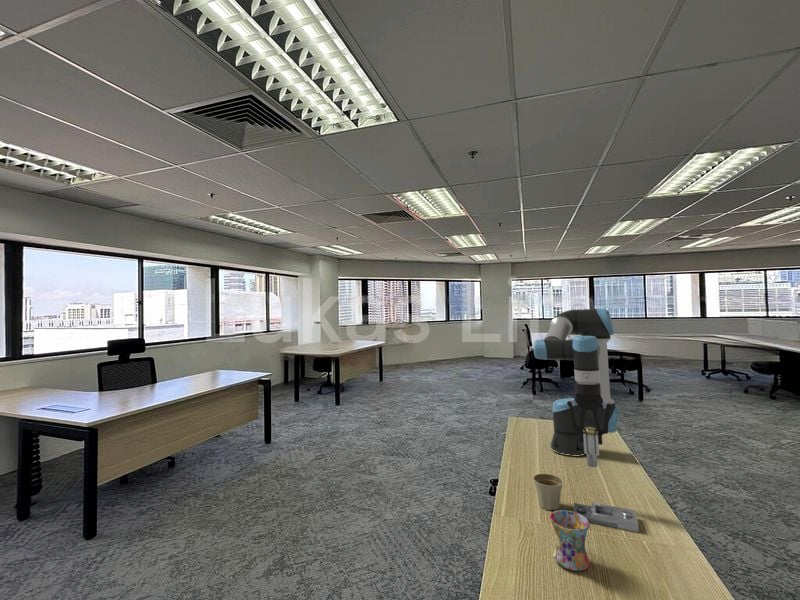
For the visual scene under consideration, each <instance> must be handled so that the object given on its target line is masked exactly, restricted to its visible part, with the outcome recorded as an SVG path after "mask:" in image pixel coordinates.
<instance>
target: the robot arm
mask: <svg viewBox="0 0 800 600" xmlns="http://www.w3.org/2000/svg"><path fill="white" fill-rule="evenodd" d="M614 334H615V332H614V325H613V321H612V318H611V313H610V311H609V310H608V309H606V308H589V309H588V308H587V309H569V310H566V311H563V312H561V313H559V314H557V315H556V316H554V317H553V318H552V319H551V321H550V322H549V330H548V331H547V333H546V335H545V337H544V339H543V338H541V339H536V340H534V342H533V355H534V358H535V359H538V360H545V361H547V360H549V361H550V360H551V361H552V360H554V361H555V360H556V361H557V360H559V361H573V366H574V367H573V371H574V380H575V384H574V388H575V389H574V390H575V396H574V397H572V398H571V397H568V398H559V399H556V400H554V401H553V403H552V421H553V422H552V423H553V435H552V439H551V442H550V449H551V448H552V449H553V450H555V451H557V452H559V453H564V454H570V455H581V454H586V455H587V445H586V433H585V432H584V428H585V427H593V428H596V429H597V433H596V434H595V437H596V453H597V456H600V449H599V446H600V445H601V446H602V445H603V435H607V434H608V433H609V434H611V433H612V434H614V433H616V432H617V429H618V420H619V408H620V407H619V406H618V405H615V400H614V399H612V398H611V390H610V389H611V387H610V375H609V374H610V373H609V371H610V370H609V356H608V342H610V340H611V336H613V335H614ZM568 336H574V337H573V338H572V339H567V338H568Z"/></svg>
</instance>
